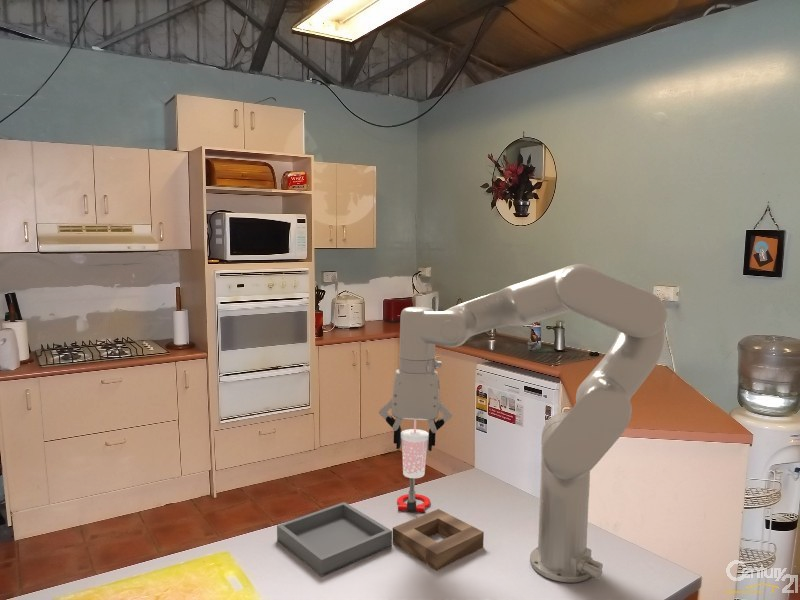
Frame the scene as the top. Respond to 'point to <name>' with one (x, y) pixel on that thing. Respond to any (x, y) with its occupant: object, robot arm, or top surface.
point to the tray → (333, 537)
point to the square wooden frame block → (444, 552)
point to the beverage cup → (414, 452)
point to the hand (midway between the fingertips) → (414, 447)
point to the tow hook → (412, 500)
